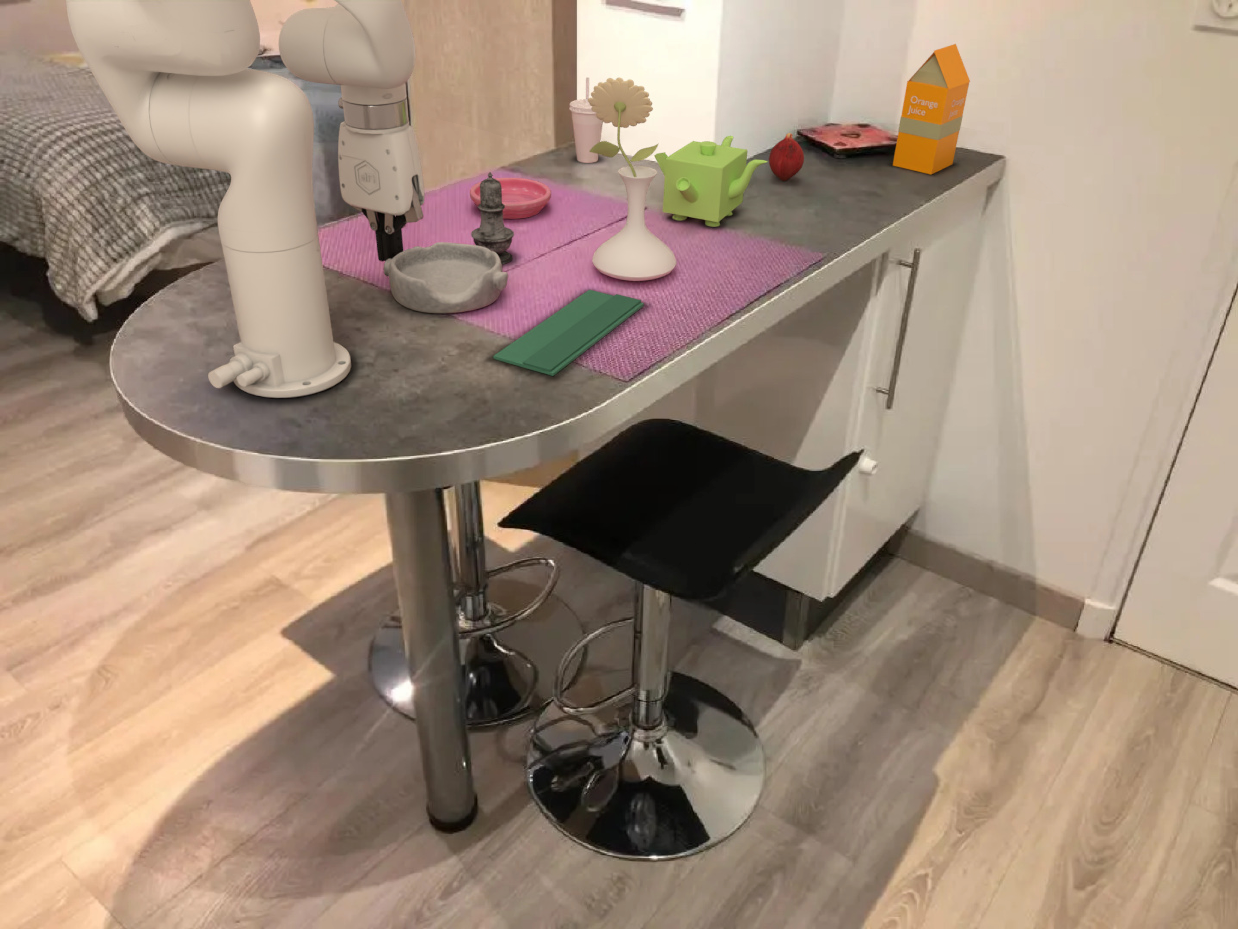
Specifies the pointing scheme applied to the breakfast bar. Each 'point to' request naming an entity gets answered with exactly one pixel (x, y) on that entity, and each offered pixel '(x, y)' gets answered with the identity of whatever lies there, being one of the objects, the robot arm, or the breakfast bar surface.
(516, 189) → the saucer
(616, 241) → the flower in vase
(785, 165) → the onion
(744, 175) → the kettle
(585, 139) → the smoothie
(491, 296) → the dish
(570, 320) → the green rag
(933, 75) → the orange juice
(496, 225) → the salt shaker
